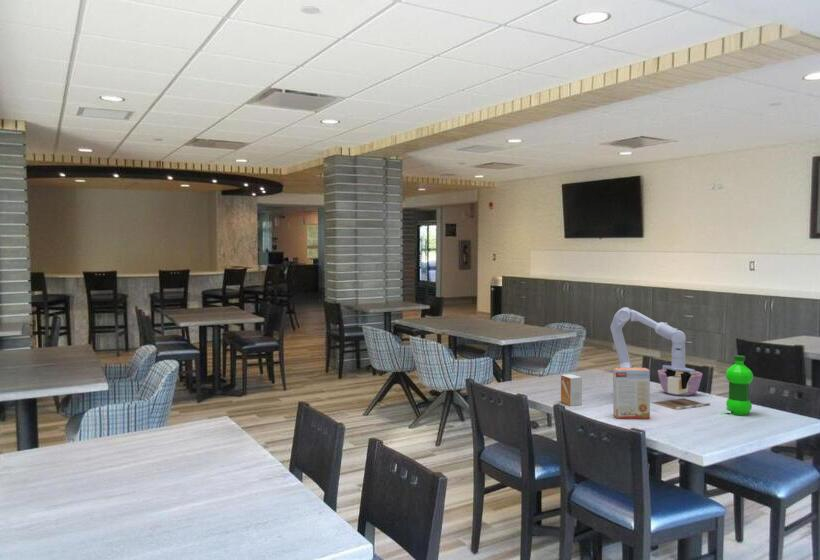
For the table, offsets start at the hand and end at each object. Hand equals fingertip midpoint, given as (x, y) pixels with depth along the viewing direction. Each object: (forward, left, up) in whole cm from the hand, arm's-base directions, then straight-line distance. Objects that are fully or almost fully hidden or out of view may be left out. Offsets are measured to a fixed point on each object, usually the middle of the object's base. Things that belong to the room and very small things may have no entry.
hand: (678, 387), depth 280 cm
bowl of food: (+17, +15, -9) cm, 25 cm away
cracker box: (-32, -5, -9) cm, 34 cm away
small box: (-40, +25, -9) cm, 48 cm away
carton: (0, 0, -2) cm, 2 cm away
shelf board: (0, -1, -9) cm, 9 cm away
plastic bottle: (+14, -20, -9) cm, 26 cm away
